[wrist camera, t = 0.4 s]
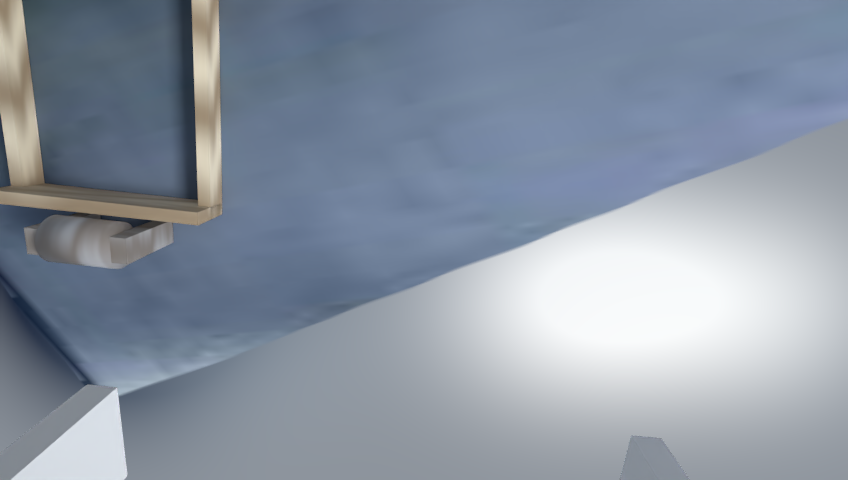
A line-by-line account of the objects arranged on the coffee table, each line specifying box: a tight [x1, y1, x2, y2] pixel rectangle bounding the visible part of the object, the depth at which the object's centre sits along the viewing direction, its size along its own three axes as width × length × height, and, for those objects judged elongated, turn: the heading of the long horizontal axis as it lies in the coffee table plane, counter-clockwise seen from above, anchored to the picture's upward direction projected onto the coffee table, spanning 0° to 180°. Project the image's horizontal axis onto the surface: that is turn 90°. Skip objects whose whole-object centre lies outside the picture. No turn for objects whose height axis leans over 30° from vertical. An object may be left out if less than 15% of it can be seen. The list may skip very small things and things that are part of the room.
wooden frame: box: [0, 0, 222, 269], centre depth 33 cm, size 21×16×7 cm
